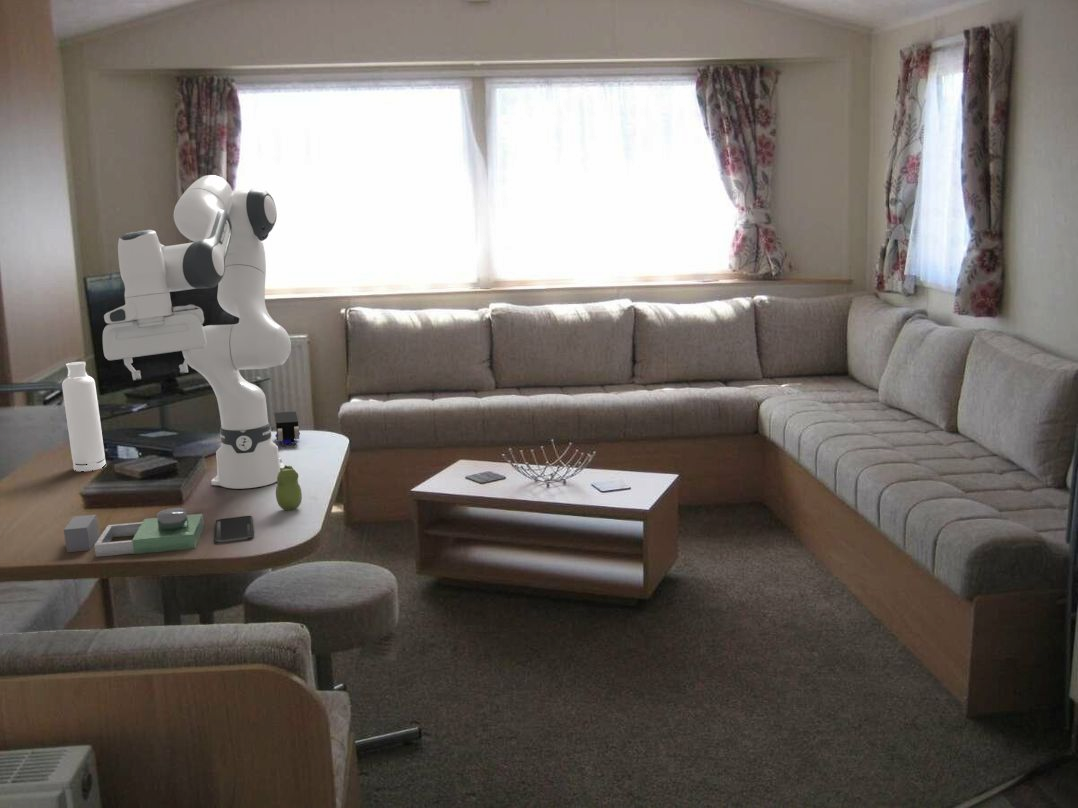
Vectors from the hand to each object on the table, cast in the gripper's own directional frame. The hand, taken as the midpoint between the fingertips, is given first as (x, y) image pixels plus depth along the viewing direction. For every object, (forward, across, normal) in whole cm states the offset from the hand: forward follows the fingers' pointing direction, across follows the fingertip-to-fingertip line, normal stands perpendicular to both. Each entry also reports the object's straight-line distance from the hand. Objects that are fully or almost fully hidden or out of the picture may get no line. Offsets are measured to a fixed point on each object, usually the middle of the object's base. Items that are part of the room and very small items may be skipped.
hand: (160, 376), depth 231 cm
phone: (+35, -9, -1) cm, 37 cm away
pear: (+34, -21, -12) cm, 42 cm away
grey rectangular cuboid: (+33, +21, -4) cm, 39 cm away
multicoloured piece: (+34, +7, 0) cm, 35 cm away
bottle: (+24, +31, -70) cm, 80 cm away
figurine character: (+27, -20, -78) cm, 85 cm away
